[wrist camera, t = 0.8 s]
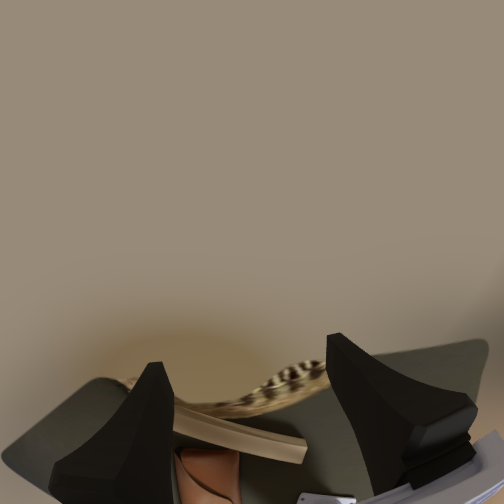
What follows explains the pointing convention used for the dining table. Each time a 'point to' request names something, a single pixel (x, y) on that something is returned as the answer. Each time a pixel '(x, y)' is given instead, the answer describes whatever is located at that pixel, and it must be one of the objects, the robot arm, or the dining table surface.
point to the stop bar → (239, 436)
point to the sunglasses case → (208, 476)
